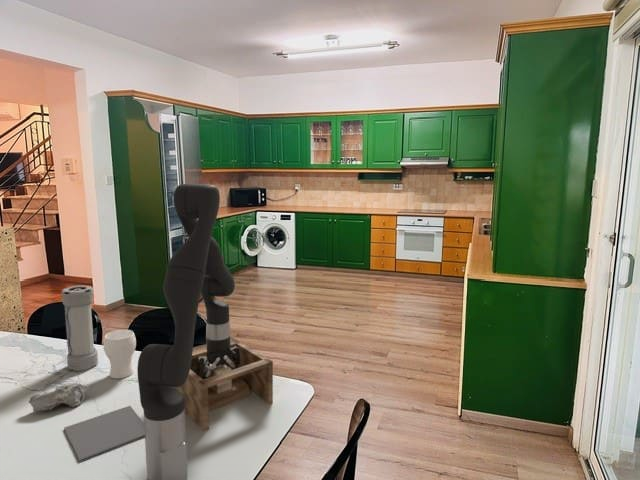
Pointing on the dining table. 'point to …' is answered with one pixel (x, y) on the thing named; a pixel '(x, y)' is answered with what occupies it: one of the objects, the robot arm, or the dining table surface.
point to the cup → (120, 352)
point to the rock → (59, 397)
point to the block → (224, 385)
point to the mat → (105, 432)
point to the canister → (79, 327)
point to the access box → (245, 377)
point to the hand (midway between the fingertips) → (219, 382)
